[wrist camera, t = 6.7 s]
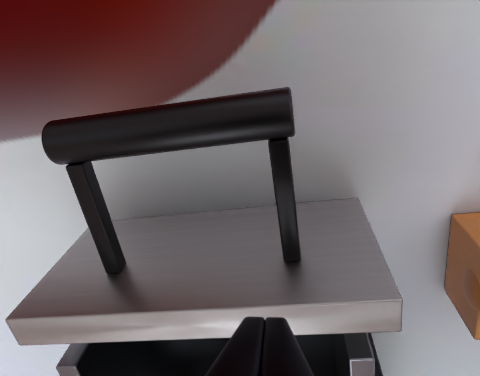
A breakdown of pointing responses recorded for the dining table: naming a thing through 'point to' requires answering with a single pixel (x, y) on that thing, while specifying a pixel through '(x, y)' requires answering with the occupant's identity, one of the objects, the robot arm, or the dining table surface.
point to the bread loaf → (465, 269)
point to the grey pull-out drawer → (205, 256)
